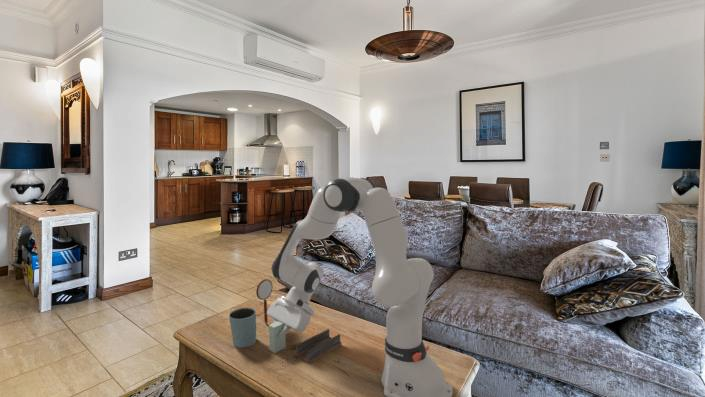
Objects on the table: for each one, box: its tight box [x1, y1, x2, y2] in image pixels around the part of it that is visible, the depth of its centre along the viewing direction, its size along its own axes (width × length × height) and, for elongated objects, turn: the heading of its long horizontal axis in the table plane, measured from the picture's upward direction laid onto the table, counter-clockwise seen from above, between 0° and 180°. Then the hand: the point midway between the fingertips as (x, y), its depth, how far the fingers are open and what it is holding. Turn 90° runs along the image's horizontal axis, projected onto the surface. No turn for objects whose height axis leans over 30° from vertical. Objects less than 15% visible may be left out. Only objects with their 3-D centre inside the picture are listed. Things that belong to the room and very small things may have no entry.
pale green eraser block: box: [268, 321, 287, 354], centre depth 132 cm, size 3×5×10 cm, turn 137°
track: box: [294, 328, 342, 364], centre depth 131 cm, size 8×16×4 cm, turn 137°
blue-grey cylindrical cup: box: [228, 307, 257, 349], centre depth 137 cm, size 10×10×12 cm
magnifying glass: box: [255, 278, 274, 325], centre depth 150 cm, size 9×2×20 cm, turn 146°
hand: (275, 334), depth 131 cm, fingers closed on pale green eraser block, 3 cm apart
